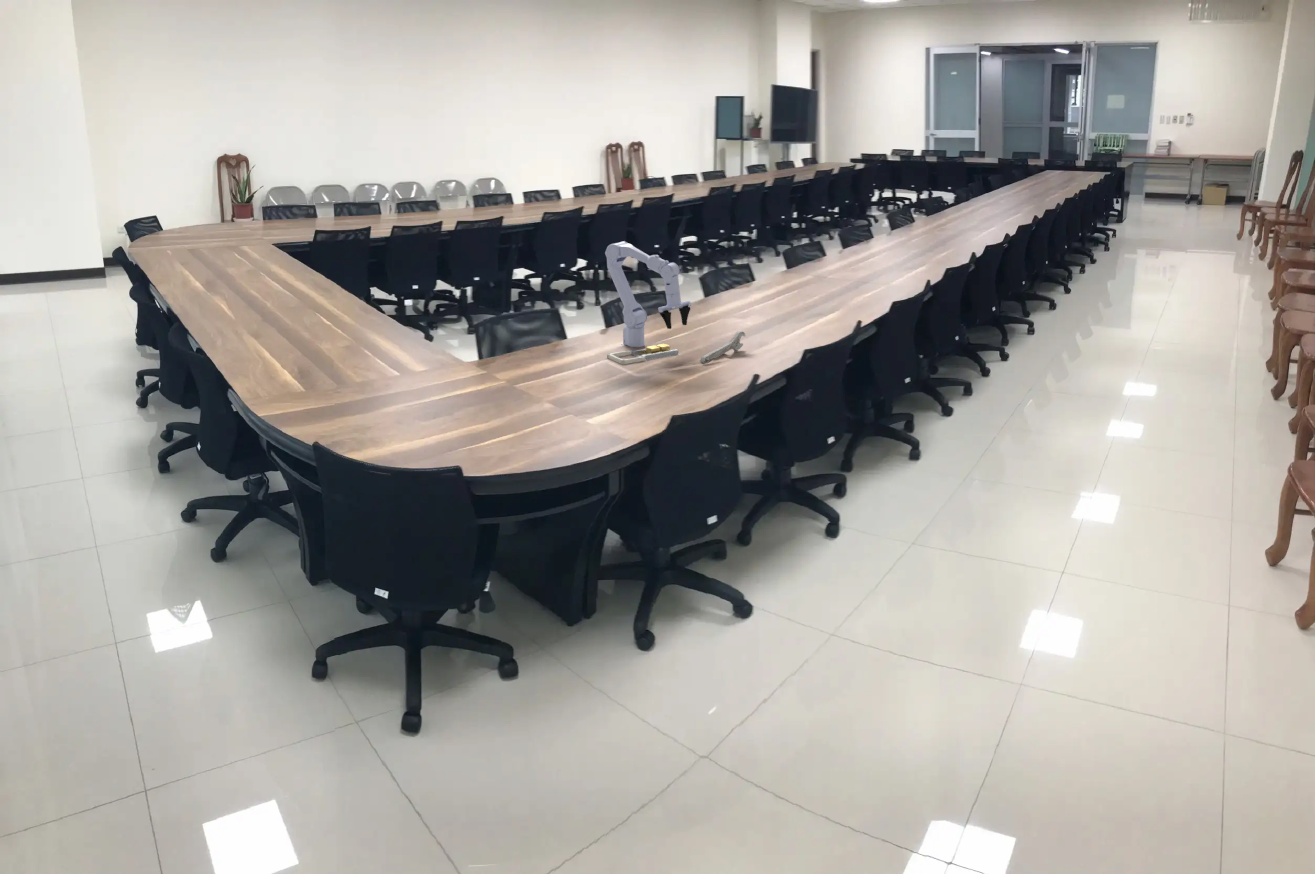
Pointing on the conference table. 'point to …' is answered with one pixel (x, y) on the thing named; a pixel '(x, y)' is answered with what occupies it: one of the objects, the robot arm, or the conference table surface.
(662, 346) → the chip
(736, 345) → the wrench
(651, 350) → the chip
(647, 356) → the slot board
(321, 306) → the conference table surface
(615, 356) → the grey rectangular frame
